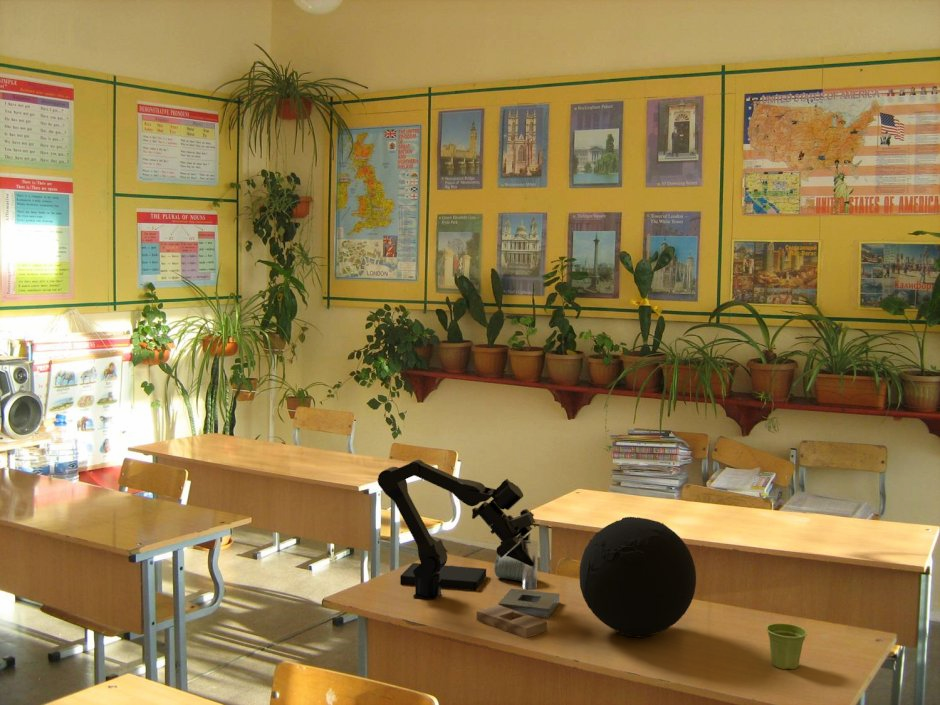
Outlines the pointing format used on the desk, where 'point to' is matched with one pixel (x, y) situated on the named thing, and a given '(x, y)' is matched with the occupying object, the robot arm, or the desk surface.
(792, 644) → the plant pot
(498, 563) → the spool
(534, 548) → the steel axle
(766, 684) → the desk surface
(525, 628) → the wooden block with hole
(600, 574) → the sphere
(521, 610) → the block
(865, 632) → the desk surface
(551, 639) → the desk surface
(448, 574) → the external hard drive
